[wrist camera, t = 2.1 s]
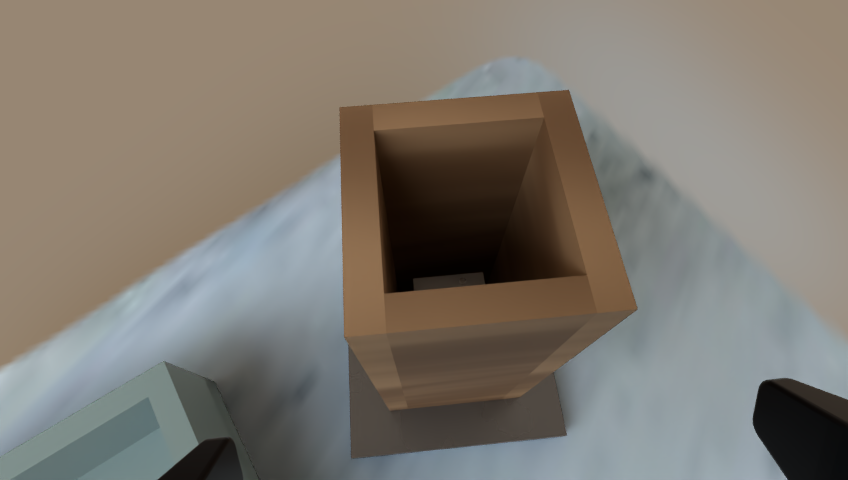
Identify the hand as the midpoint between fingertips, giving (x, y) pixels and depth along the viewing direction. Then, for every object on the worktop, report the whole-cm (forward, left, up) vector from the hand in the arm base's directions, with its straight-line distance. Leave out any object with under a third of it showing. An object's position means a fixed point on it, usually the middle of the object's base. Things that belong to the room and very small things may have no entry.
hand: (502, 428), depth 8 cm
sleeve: (+3, -3, -10) cm, 11 cm away
